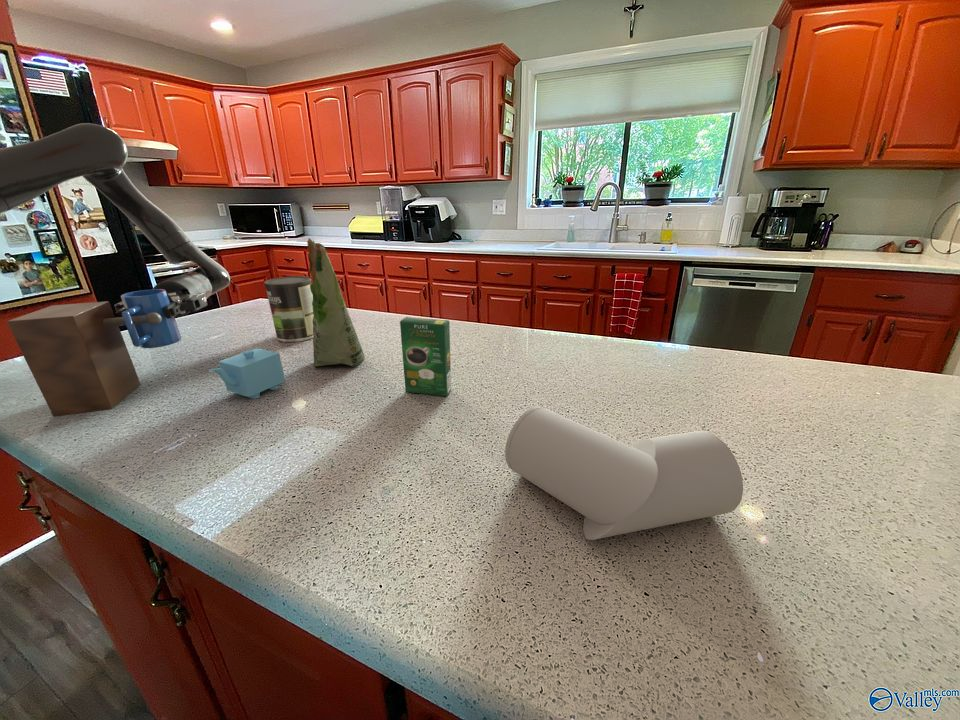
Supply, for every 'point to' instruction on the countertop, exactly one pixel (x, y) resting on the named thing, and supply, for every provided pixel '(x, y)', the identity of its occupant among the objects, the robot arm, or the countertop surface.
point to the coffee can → (291, 307)
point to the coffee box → (426, 355)
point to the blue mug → (148, 333)
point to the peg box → (78, 355)
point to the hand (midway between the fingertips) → (144, 315)
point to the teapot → (251, 372)
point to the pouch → (330, 314)
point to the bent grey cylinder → (624, 473)
